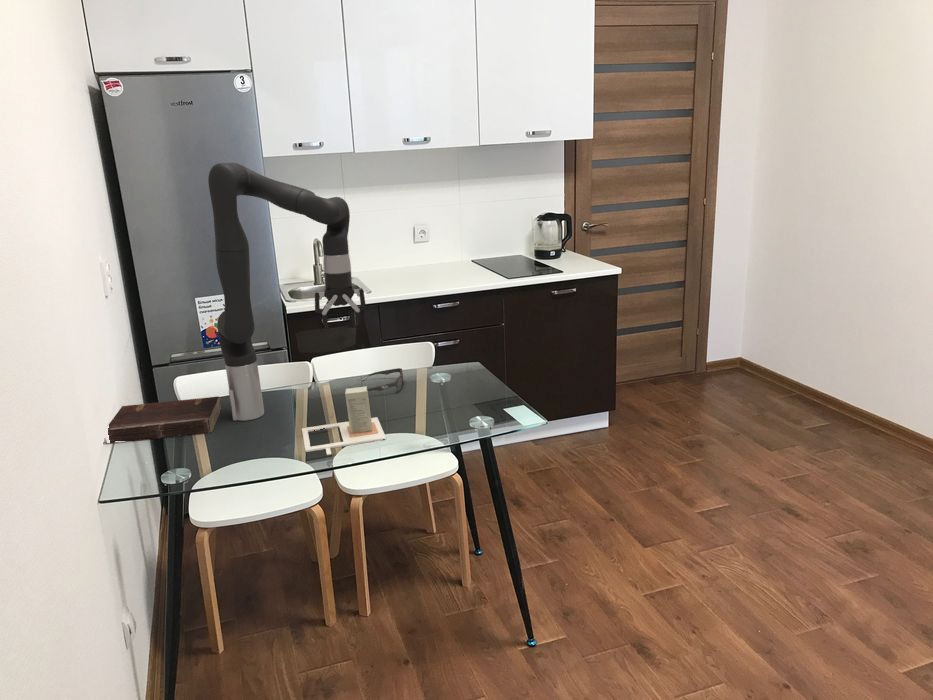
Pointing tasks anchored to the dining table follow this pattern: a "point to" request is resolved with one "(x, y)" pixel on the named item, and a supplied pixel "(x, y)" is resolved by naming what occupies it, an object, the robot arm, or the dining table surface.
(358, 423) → the skincare box
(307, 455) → the dining table surface
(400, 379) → the sunglasses
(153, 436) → the hardback book
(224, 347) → the robot arm
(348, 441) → the window card
